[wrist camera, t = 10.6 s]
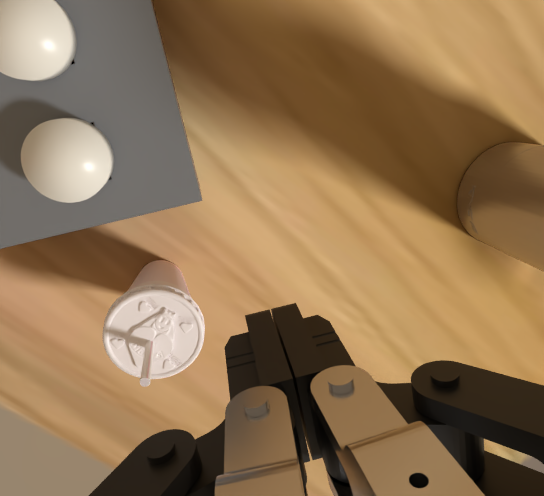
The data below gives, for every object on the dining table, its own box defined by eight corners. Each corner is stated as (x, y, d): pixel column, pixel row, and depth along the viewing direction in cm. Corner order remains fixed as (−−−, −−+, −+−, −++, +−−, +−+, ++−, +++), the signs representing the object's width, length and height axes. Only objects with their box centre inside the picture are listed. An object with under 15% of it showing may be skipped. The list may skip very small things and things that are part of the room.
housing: (108, -170, 29) (90, -234, 24) (199, 185, 37) (202, 200, 31) (-128, -135, 28) (-206, -194, 22) (17, 227, 36) (-14, 251, 30)
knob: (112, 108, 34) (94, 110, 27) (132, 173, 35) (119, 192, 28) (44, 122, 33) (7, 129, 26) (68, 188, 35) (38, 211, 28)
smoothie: (106, 295, 38) (66, 398, 25) (144, 230, 37) (123, 300, 24) (176, 328, 40) (173, 438, 27) (214, 266, 39) (230, 350, 26)
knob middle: (80, 1, 31) (50, -28, 24) (103, 76, 33) (81, 70, 26) (6, 15, 31) (-46, -10, 24) (33, 90, 32) (-9, 88, 25)
